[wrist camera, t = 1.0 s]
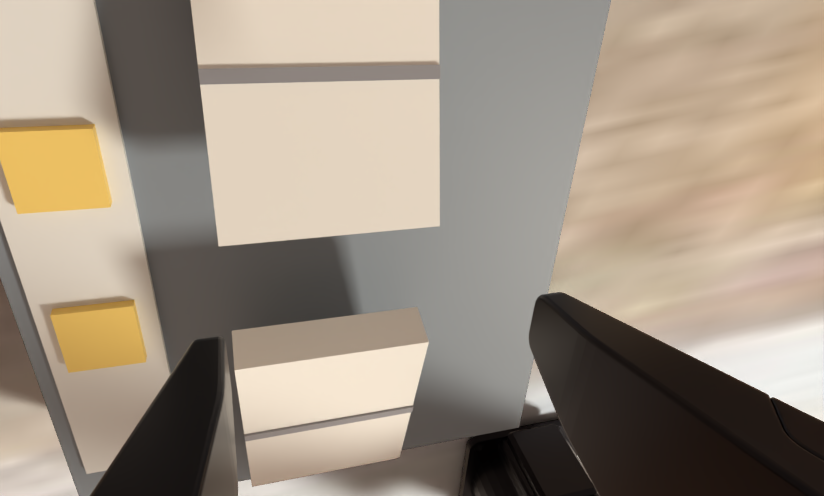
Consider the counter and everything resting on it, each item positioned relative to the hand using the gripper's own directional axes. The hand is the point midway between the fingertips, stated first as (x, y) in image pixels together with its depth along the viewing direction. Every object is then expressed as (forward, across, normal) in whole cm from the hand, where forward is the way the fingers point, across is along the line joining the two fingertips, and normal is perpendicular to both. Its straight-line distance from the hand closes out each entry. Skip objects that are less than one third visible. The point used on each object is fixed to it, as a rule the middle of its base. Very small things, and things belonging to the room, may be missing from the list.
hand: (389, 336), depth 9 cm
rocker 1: (+6, 0, -2) cm, 7 cm away
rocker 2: (+6, 0, +8) cm, 10 cm away
